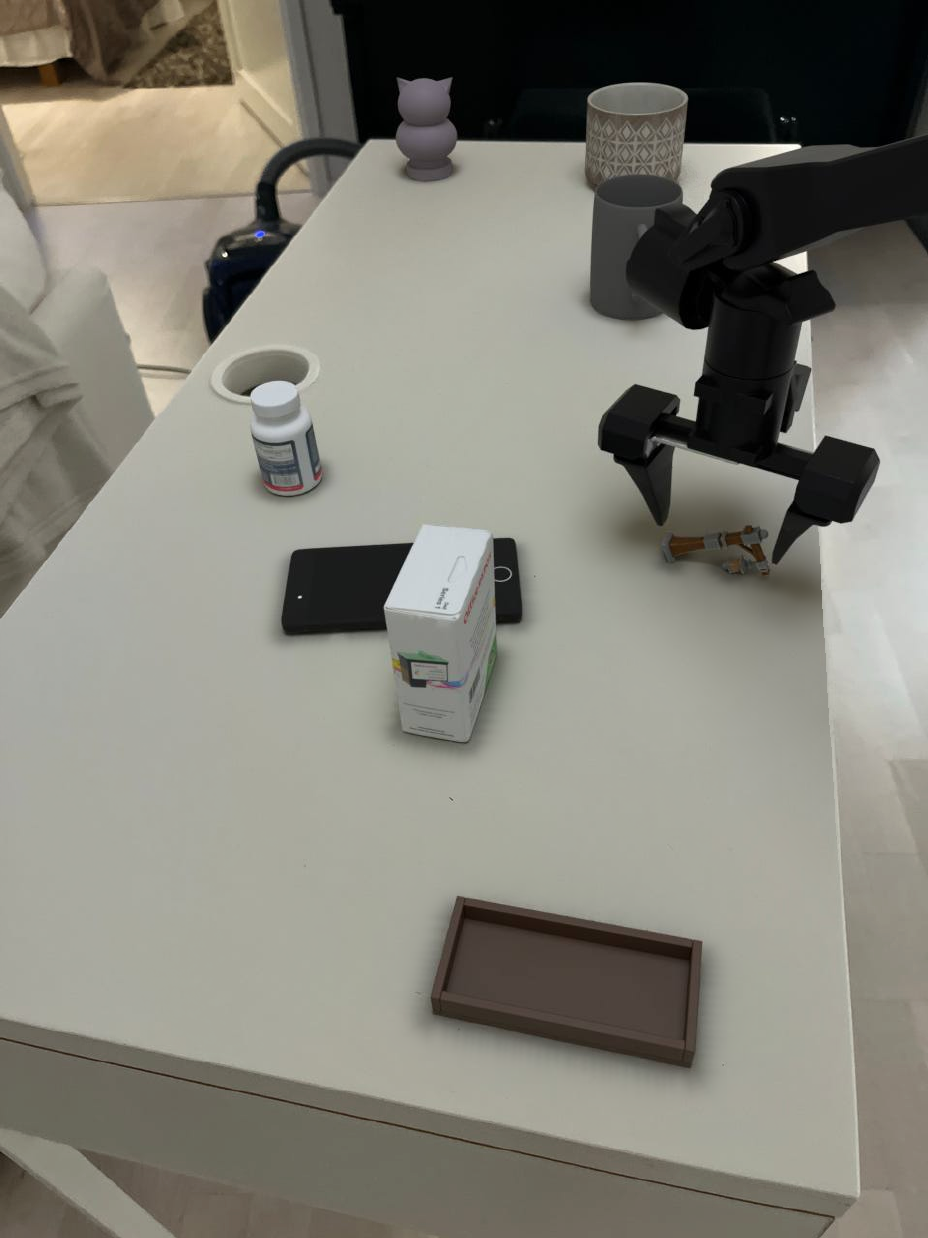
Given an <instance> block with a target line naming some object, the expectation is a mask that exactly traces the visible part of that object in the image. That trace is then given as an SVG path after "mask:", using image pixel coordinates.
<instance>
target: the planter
mask: <svg viewBox="0 0 928 1238" xmlns="http://www.w3.org/2000/svg"><path fill="white" fill-rule="evenodd" d="M586 100H587V102H586V103H587V105H586V131H585V155H584V157H585V158H584V159H585V161H584V175H585V178H586V179H587V180H588V181H589V182H590V183H591V184H593V185H595V186H596V187H597V186H598V185H599V184H600V183H602V182H603V181H605V180H607V179H610V178H613V177H617V176H622V175H631V174H647V175H656V176H661V177H665V178H668V179H671V180H673V181H675V182H677V180H678V179H679V177H680V174H681V173H682V172H681V171H682V161H683V151H684V143H685V142H684V141H685V132H686V123H687V112H688V102H689V97H688V94H687V93H686V92H685V91H683V90H682V89H680V88H678V87H675V86H671V85H668V84H663V83H656V82H623V83H617V84H616V83H615V84H611V85H607V86H603V87H601V88H598V89H596V90H594V91H593V92H591V93H590V94H589V95H588V96H587V99H586Z"/></svg>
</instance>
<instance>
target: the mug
mask: <svg viewBox="0 0 928 1238" xmlns="http://www.w3.org/2000/svg"><path fill="white" fill-rule="evenodd" d="M677 202H680V203H682V204H684V203H683V202H684V190H683V188H682V186H681V184H679V183H678V182H677V181H673V180H671V179H668V178H665V177H661V176H656V175H647V174H631V175H622V176H617V177H613V178H610V179H607V180H605V181H603V182H602V183H600V184H599V185H598V186H597V185H596V187H595V190H594V195H593V205H592V206H593V207H592V224H591V240H590V241H591V242H590V243H591V244H590V264H589V265H590V269H589V295H590V297H589V299H590V303H591V305H592V308H594V310H596V311H597V312H599V313H600V314H602V315H604V316H607V317H610V318H614V319H618V320H630V321H631V320H644V319H650V318H653V317H656V316H658V315H661V314H663V313H662V312H661V311H659V310H658V309H656V308H655V307H653V306H651V305H650V304H648V303H647V302H645V301H644V300H642V299H641V298H639V297H638V296H636V295H635V294H633V293H632V291H631V290H630V288H629V287H628V284H627V280H626V263H627V261H628V259H630V256H631V253H632V251H633V249H634V247H635V245H636V243H637V242H638V240H639V239H640V238H641V236H642V235H643V234H644V233H645V232H646V231H647V230H648V229H649V228H650V227H651V226H653V225H654V215H655V210H656V209H657V208H659V207H663V206H666V205H670V204H673V203H677Z"/></svg>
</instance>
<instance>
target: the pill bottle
mask: <svg viewBox="0 0 928 1238" xmlns="http://www.w3.org/2000/svg"><path fill="white" fill-rule="evenodd" d="M249 398H250V403H251V408H252V411H253V415H252V417H251V418H250V422H249V430H250V435H251V439H252V442H253V446H254V450H255V455H256V458H257V462H258V467H259V471H260V474H261V479H262V482H263V483H262V484H263V485H264V487H265V488H266V489H267V491H269V492H270V493H272V494H275V495H278V496H283V497H284V496H285V497H290V496H298V495H302V494H305V493H307V492H309V491H311V490H312V489H314V488H315V487H316V486H318V485H319V483H320V482H321V480H322V477H323V470H322V469H323V468H322V464H321V459H320V454H319V447H318V442H317V438H316V433H315V429H314V423H313V418H312V416H311V415H312V414H311V413H310V411H309V410H308V408H306V407H305V406H303V405H302V403H301V398H300V393H299V390H298V387H297V386H296V385H295V384H294V383H293V382H290V381H286V380H272V381H268V382H264V383H262V384H260V385H258V386H256V387H255V388H254V389H253V390H252V391H251V393H250V396H249Z"/></svg>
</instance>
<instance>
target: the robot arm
mask: <svg viewBox="0 0 928 1238" xmlns="http://www.w3.org/2000/svg"><path fill="white" fill-rule="evenodd" d="M710 189H711V190H710V193H709V196H708V199H707V201H706V202H705V203H704V205H702V207H701V208H700V210H699V211H698V212H697V213H696V212H695V211H694V210H693V209H692V208H691V207H690V206H688V205H686V204H685V203H683V204H682V203H680V202H677V203H673V204H670V205H666V206H663V207H659V208H657V209H656V210H655V215H654V225H653V226H651V227H650V228H649V229H648V230H647V231H646V232H645V233H644V234H643V235H642V236H641V238H640V239H639V240H638V242H637V243H636V245H635V247H634V249H633V251H632V253H631V256H630V259H628V261H627V263H626V280H627V284H628V287H629V288H630V290H631V291H632V293H633V294H635V295H636V296H638V297H639V298H641V299H642V300H644V301H645V302H647V303H648V304H650V305H651V306H653V307H655V308H656V309H658V310H659V311H661V312H662V313H661V314H663V315H665V316H667V317H668V318H670V319H672V320H673V321H674V322H676V323H677V324H679V325H681V327H684V328H685V329H687V330H691V331H698V330H699V331H700V330H704V329H707V332H706V333H707V334H706V342H705V347H704V354H703V355H704V357H703V362H702V363H703V364H702V369H701V370H702V371H701V375H700V376H699V377H698V379H697V380H696V381H695V382H694V388H693V389H694V390H693V397H695V398H698V399H697V407H696V415H695V420H693V419H689V418H685V417H682V416H678V415H679V412H680V408H681V407H680V406H681V399H680V397H679V396H678V395H677V394H676V393H675V394H674V393H671V392H667V391H663V390H660V389H656V388H653V387H649V386H645V385H642V384H637V383H633V384H632V385H631V386H630V387H628V388H627V389H625V390H624V391H623V393H621V395H620V396H619V397H618V398H617V399H616V400H615V401H613V403H612V404H611V405H610V406H609V408H607V410H606V411H605V412H604V413H603V414H602V415H601V418H600V421H599V423H598V430H597V446H598V448H599V450H600V451H602V452H606V453H608V454H612V459H613V462H614V463H615V464H618V465H620V466H622V467H623V468H624V470H625V471H626V472H627V474H628V475H629V477H630V479H631V480H632V482H633V483H634V485H635V486H636V488H637V489H638V491H639V493H640V494H641V496H642V498H643V500H644V502H645V504H646V506H647V508H648V511H649V512H650V514H651V516H652V518H653V521H654V522H655V524H656V526H658V527H661V528H662V527H663V526H664V525H665V524H666V523H667V521H668V518H669V513H670V507H671V500H672V481H673V475H672V474H673V462H674V461H673V459H674V452H675V449H676V448H677V449H681V450H683V451H687V452H690V453H694V454H697V455H700V456H704V457H708V458H711V459H714V460H718V461H721V462H724V463H727V464H731V465H734V466H738V465H744V466H746V467H751V468H754V469H758V470H762V471H765V472H768V473H772V474H776V475H779V476H783V477H786V478H788V479H792V480H796V481H797V484H796V487H795V490H794V495H793V500H792V501H791V503H790V505H789V507H788V508H787V509H786V511H785V514H784V518H783V520H782V522H781V526H780V529H779V531H778V535H777V538H776V541H775V544H774V547H773V550H772V553H771V564H773V565H775V566H777V565H778V564H779V563H780V562H781V560H782V559H783V558H784V557H785V555H786V553H787V552H788V551H789V549H790V548H791V547H792V546H793V544H794V543H795V542H796V541H797V539H799V538H800V537H801V536H802V535H803V534H805V532H807V531H808V530H809V529H810V528H811V527H813V526H817V527H821V528H826V527H829V526H830V525H832V524H833V523H837V524H847V523H852V522H853V521H854V519H855V517H856V515H858V512H859V510H860V509H861V506H862V505H863V503H864V501H865V500H866V497H867V496H868V494H869V492H870V491H871V489H872V487H873V485H874V483H875V481H876V478H877V475H878V470H879V468H880V465H881V459H880V457H879V454H878V453H877V451H876V449H875V448H874V447H870V446H866V445H863V444H859V443H856V442H851V441H848V440H844V439H841V438H838V437H837V438H836V437H833V436H830V435H825V434H824V436H823V438H822V439H821V441H820V442H819V444H818V445H817V447H816V449H815V450H814V451H810V450H806V449H802V448H799V447H797V446H796V447H795V446H792V445H789V444H785V443H781V442H779V438H780V434H782V433H783V434H787V433H788V432H789V430H790V429H791V427H792V426H793V423H794V417H795V412H796V413H798V412H800V410H801V408H802V407H801V406H802V404H803V400H804V397H805V393H806V390H807V387H808V383H809V381H810V380H809V379H810V377H811V374H812V370H813V369H812V368H811V366H808V365H805V364H801V363H797V362H798V360H796V355H797V351H798V345H799V340H800V336H801V331H802V326H803V323H805V322H807V321H811V320H813V319H816V318H819V317H822V316H825V315H827V314H830V313H833V312H834V311H835V310H836V309H837V308H836V307H837V305H836V301H835V300H834V298H833V295H832V293H831V292H830V290H828V288H827V287H825V286H824V285H823V283H822V282H821V280H820V278H819V275H818V272H817V271H816V270H815V269H809V270H806V271H803V272H800V273H796V272H795V271H793V270H791V269H789V268H788V267H786V266H784V265H782V264H780V263H778V261H781V260H784V259H787V258H790V257H793V256H797V255H800V254H803V253H805V252H809V251H812V250H816V249H819V248H821V247H822V248H823V247H824V246H827V245H829V244H831V243H834V242H837V241H839V240H841V239H843V238H845V237H847V236H850V235H852V234H854V233H857V232H859V231H861V230H862V229H864V228H867V227H873V226H878V225H882V224H890V223H893V222H899V221H905V220H910V219H915V218H920V217H926V216H928V133H925V134H921V135H918V136H914V137H910V138H906V139H904V140H899V141H896V142H893V143H889V144H885V145H882V146H881V145H880V146H875V147H873V146H871V147H860V146H856V145H852V144H847V143H846V144H822V145H808V146H803V147H799V148H796V149H792V150H788V151H785V152H781V153H778V154H774V155H771V156H767V157H763V158H759V159H756V160H753V161H749V162H746V163H742V164H739V165H738V164H737V165H734V166H730V167H727V168H724V169H723V170H721V171H720V172H718V173H717V174H716V175H715V176H714V177H713V179H712V180H711V183H710ZM832 522H833V523H832Z"/></svg>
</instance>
